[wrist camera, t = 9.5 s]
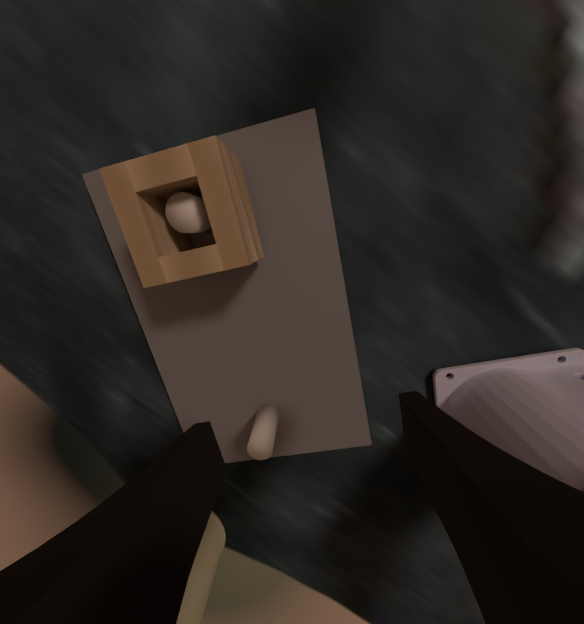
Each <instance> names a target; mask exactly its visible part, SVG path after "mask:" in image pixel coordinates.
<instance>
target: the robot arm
mask: <svg viewBox="0 0 584 624" xmlns="http://www.w3.org/2000/svg"><path fill="white" fill-rule="evenodd" d="M559 357H561V358H560V359H559V360H558V358H559ZM448 373H451V375H450V376H448V377H446V375H447V374H448ZM433 387H434V398H435V404H433V403H432V402H431V401H429V400H428V399H427V398H425V397H424V396H423V395H421V394H420V393H419V392H417V391H413V392H406V393H399V399H400V407H401V415H402V423H403V431H404V439H405V442H406V445H407V448H408V451H409V453H410V456H411V459H412V461H413V464H414V467H415V469H416V471H417V473H418V475H419V477H420V479H421V482H422V484H423V486H424V488H425V490H426V492H427V494H428V496H429V498H430V500H431V502H432V504H433V506H434V508H435V510H436V512H437V514H438V516H439V518H440V520H441V522H442V524H443V526H444V528H445V530H446V532H447V534H448V536H449V538H450V540H451V542H452V544H453V546H454V548H455V550H456V552H457V555H458V557H459V559H460V561H461V564H462V566H463V569H464V571H465V573H466V576H467V578H468V581H469V583H470V586H471V588H472V591H473V593H474V595H475V598H476V600H477V603H478V605H479V608H480V610H481V613H482V615H483V618H484V620H485V623H486V624H584V350H581V349H579V348H570V349H564V350H558V351H551V352H545V353H538V354H532V355H525V356H519V357H512V358H506V359H499V360H493V361H486V362H480V363H473V364H467V365H461V366H454V367H448V368H441V369H437V370H436V371H434V373H433ZM224 464H225V462H224V459H223V457H222V454H221V451H220V448H219V445H218V443H217V440H216V437H215V434H214V431H213V429H212V426H211V423H210V421H208V422H201V423H195V424H194V425H193V426H191V427H190V428H189V429H188V430H186V431H185V432H184V433H183V434H182V435H181V436H180V437H178V438H177V439H176V440H175V441H174V442H173V443H172V444H171V445H170V446H168V447H167V448H166V449H165V450H164V451H163V452H162V453H161V454H159V455H158V456H157V457H156V458H155V459H154V460H153V461H152V462H151V463H149V464H148V465H147V466H146V467H145V468H144V469H142V470H141V471H140V472H139V473H138V474H137V475H135V476H134V477H133V478H132V479H131V480H129V481H128V482H127V483H126V484H125V485H123V486H122V487H121V488H120V489H119V490H118V491H116V492H115V493H114V494H112V495H111V496H110V497H109V498H108V499H106V500H105V501H104V502H102V503H101V504H100V505H98V506H97V507H96V508H94V509H93V510H92V511H90V512H89V513H87V514H86V515H85V516H84V517H82V518H81V519H79V520H78V521H77V522H75V523H74V524H72V525H71V526H69V527H68V528H66V529H65V530H63V531H62V532H60V533H59V534H57V535H56V536H54V537H53V538H51V539H50V540H48V541H47V542H46V543H44V544H43V545H41V546H40V547H38V548H37V549H35V550H34V551H32V552H30V553H29V554H27V555H26V556H24V557H22V558H21V559H19V560H18V561H16V562H14V563H13V564H11V565H10V566H8V567H6V568H5V569H3V570H1V571H0V624H176V623H177V619H178V616H179V612H180V608H181V604H182V601H183V597H184V593H185V589H186V586H187V582H188V578H189V575H190V572H191V569H192V566H193V563H194V560H195V557H196V554H197V551H198V548H199V546H200V543H201V540H202V537H203V534H204V532H205V529H206V526H207V523H208V520H209V517H210V515H211V512H212V509H213V506H214V503H215V500H216V497H217V494H218V491H219V487H220V483H221V479H222V474H223V469H224Z"/></svg>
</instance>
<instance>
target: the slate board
mask: <svg viewBox="0 0 584 624" xmlns="http://www.w3.org/2000/svg"><path fill="white" fill-rule="evenodd" d="M216 137H217V138H218V139H219V140H220V141H222V142H223V143H224V144H225V145H226V146H227V147H228V148H229V149H230V150H231V151H232V152H233V153H234V154H235V155H236V156H237V157H238V158H239V159H240V160H241V164H242V168H243V173H244V177H245V181H246V185H247V189H248V193H249V197H250V201H251V205H252V209H253V213H254V218H255V222H256V226H257V230H258V234H259V238H260V242H261V246H262V250H263V254H264V257H263V258H261V259H259V260H257V261H256V262H254V263H252V264H250V265H247V266H243V267H238V268H234V269H229V270H224V271H220V272H215V273H211V274H206V275H202V276H197V277H193V278H188V279H183V280H179V281H174V282H170V283H165V284H161V285H156V286H152V287H147V288H144V287H143V285H142V282H141V279H140V277H139V274H138V272H137V269H136V266H135V264H134V261H133V258H132V256H131V253H130V250H129V248H128V245H127V242H126V240H125V237H124V234H123V232H122V229H121V226H120V224H119V221H118V218H117V216H116V213H115V210H114V208H113V205H112V202H111V200H110V197H109V194H108V192H107V189H106V186H105V184H104V181H103V178H102V176H101V173H100V170H96V171H92V172H89V173H85V174H82V176H83V179H84V181H85V184H86V186H87V189H88V191H89V194H90V196H91V199H92V201H93V204H94V206H95V209H96V212H97V214H98V217H99V219H100V222H101V224H102V227H103V229H104V232H105V234H106V237H107V240H108V242H109V245H110V247H111V250H112V252H113V255H114V257H115V260H116V262H117V265H118V268H119V270H120V273H121V275H122V278H123V280H124V283H125V285H126V288H127V290H128V293H129V296H130V298H131V301H132V303H133V306H134V308H135V311H136V313H137V316H138V318H139V321H140V323H141V326H142V329H143V331H144V334H145V336H146V339H147V341H148V344H149V346H150V349H151V351H152V354H153V357H154V359H155V362H156V364H157V367H158V369H159V372H160V374H161V377H162V379H163V382H164V385H165V387H166V390H167V392H168V395H169V397H170V400H171V402H172V405H173V407H174V410H175V413H176V415H177V418H178V420H179V423H180V425H181V428H182V430H183V433H184V432H185V431H186V430H188V429H189V428H190V427H191V426H193V425H194V424H195V423H201V422H208V421H210V423H211V426H212V429H213V431H214V434H215V437H216V440H217V443H218V445H219V448H220V451H221V454H222V457H223V459H224V462H225V463H230V462H238V461H246V460H254V459H257V460H265V459H268V458H270V457H278V456H286V455H294V454H302V453H310V452H319V451H327V450H335V449H343V448H351V447H359V446H367V445H372V444H371V438H370V432H369V426H368V420H367V414H366V408H365V402H364V396H363V390H362V384H361V378H360V373H359V367H358V361H357V355H356V349H355V343H354V337H353V331H352V325H351V319H350V313H349V307H348V301H347V295H346V290H345V284H344V278H343V272H342V266H341V260H340V254H339V248H338V242H337V236H336V230H335V224H334V218H333V212H332V207H331V201H330V195H329V189H328V183H327V177H326V171H325V165H324V159H323V153H322V147H321V141H320V135H319V130H318V124H317V118H316V112H315V108H312V109H309V110H305V111H302V112H298V113H295V114H291V115H288V116H284V117H281V118H277V119H274V120H270V121H267V122H263V123H260V124H256V125H253V126H249V127H246V128H242V129H239V130H236V131H232V132H229V133H225V134H222V135H218V136H216ZM165 212H166V217H167V220H168V222H169V223H170V225H171V226H172V227H173V228H174V229H175V230H177V231H179V232H182V233H189V235H190V238H191V242H192V245H193V248H194V249H197V248H201V247H205V246H209V245H214V244H216V241H215V238H214V235H213V231H212V228H211V224H210V221H209V217H208V214H207V210H206V207H205V203H204V200H203V196H196V195H193V194H189V193H186V192H179V193H176V194H174V195H172V196H171V197H170V198H169V200H168V201H167V204H166V209H165Z"/></svg>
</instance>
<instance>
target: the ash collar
mask: <svg viewBox="0 0 584 624" xmlns="http://www.w3.org/2000/svg"><path fill="white" fill-rule="evenodd" d="M99 170H100V173H101V176H102V178H103V181H104V184H105V186H106V189H107V192H108V194H109V197H110V200H111V202H112V205H113V208H114V210H115V213H116V216H117V218H118V221H119V224H120V226H121V229H122V232H123V234H124V237H125V240H126V242H127V245H128V248H129V250H130V253H131V256H132V258H133V261H134V264H135V266H136V269H137V272H138V274H139V277H140V279H141V282H142V285H143V287H144V288H147V287H152V286H156V285H161V284H165V283H170V282H174V281H179V280H183V279H188V278H193V277H197V276H202V275H206V274H211V273H215V272H220V271H224V270H229V269H234V268H238V267H243V266H247V265H250V264H252V263H254V262H256V261H257V260H259V259H261V258H263V257H264V254H263V250H262V246H261V242H260V238H259V234H258V230H257V226H256V222H255V218H254V213H253V209H252V205H251V201H250V197H249V193H248V189H247V185H246V181H245V177H244V173H243V168H242V164H241V160H240V159H239V158H238V157H237V156H236V155H235V154H234V153H233V152H232V151H231V150H230V149H229V148H228V147H227V146H226V145H225V144H224V143H223V142H222V141H220V140H219V139H218V138H217V137H216V136H211V137H208V138H204V139H201V140H198V141H194V142H191V143H187V144H184V145H180V146H177V147H173V148H170V149H166V150H163V151H159V152H156V153H152V154H149V155H145V156H142V157H138V158H135V159H131V160H128V161H124V162H121V163H117V164H114V165H110V166H107V167H103V168H100V169H99ZM179 192H186V193H189V194H193V195H196V196H203V200H204V203H205V207H206V210H207V214H208V217H209V221H210V224H211V228H212V231H213V235H214V238H215V241H216V244H214V245H209V246H205V247H201V248H197V249H194V248H193V245H192V242H191V238H190V235H189V233H182V232H179V231H177V230H175V229H174V228H173V227H172V226H171V225H170V223H169V222H168V220H167V217H166V212H165V209H166V204H167V201H168V200H169V198H170V197H171V196H172V195H174V194H176V193H179Z"/></svg>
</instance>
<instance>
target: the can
mask: <svg viewBox="0 0 584 624" xmlns="http://www.w3.org/2000/svg"><path fill="white" fill-rule="evenodd" d="M225 539H226V536H225V530H224V527H223V524H222V522H221V521H220V519H219V518H218V516H217V515H216V514H215V513H214V512H213V511H212V512H211V515H210V517H209V520H208V523H207V526H206V529H205V532H204V534H203V537H202V540H201V543H200V546H199V548H198V551H197V554H196V557H195V560H194V563H193V566H192V569H191V572H190V575H189V578H188V582H187V586H186V589H185V593H184V597H183V601H182V604H181V608H180V612H179V616H178V619H177V623H176V624H200V623H201V620H202V616H203V612H204V609H205V605H206V602H207V598H208V595H209V591H210V588H211V584H212V581H213V577H214V574H215V571H216V567H217V564H218V560H219V557H220V555H221V552H222V550H223V548H224V545H225Z"/></svg>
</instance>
